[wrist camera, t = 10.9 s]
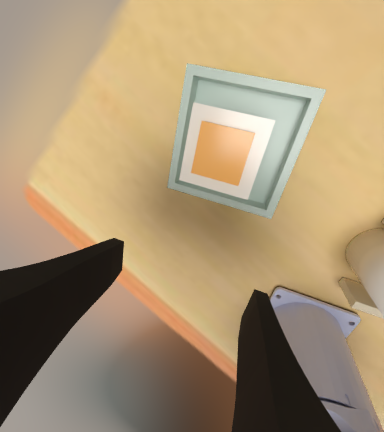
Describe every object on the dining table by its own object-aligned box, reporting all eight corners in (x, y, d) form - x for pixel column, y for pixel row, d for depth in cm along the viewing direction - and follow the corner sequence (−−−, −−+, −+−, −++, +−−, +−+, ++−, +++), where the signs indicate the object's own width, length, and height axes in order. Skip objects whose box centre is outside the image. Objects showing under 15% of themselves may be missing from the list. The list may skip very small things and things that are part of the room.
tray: (269, 210, 19) (271, 219, 17) (175, 182, 20) (167, 187, 18) (318, 94, 15) (326, 89, 13) (194, 70, 16) (187, 63, 14)
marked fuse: (251, 173, 17) (247, 202, 11) (206, 161, 18) (176, 181, 12) (268, 122, 16) (276, 120, 9) (217, 111, 16) (190, 101, 10)
